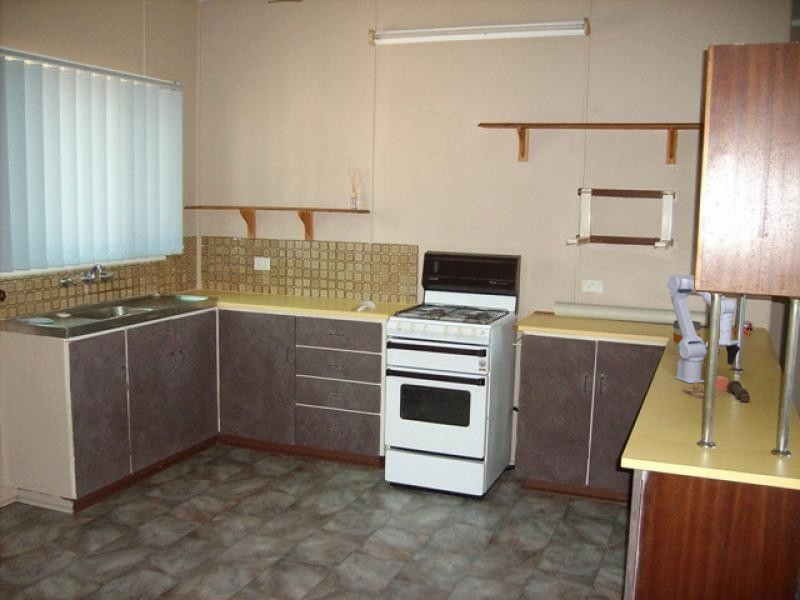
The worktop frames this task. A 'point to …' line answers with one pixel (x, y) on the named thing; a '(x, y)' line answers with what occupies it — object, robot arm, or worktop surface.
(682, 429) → the worktop surface
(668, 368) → the worktop surface
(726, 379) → the salmon cube
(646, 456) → the worktop surface
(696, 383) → the stub block
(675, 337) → the reusable coffee cup
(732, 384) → the bolt
